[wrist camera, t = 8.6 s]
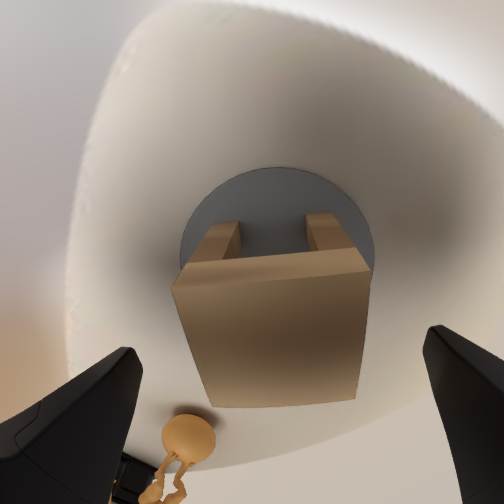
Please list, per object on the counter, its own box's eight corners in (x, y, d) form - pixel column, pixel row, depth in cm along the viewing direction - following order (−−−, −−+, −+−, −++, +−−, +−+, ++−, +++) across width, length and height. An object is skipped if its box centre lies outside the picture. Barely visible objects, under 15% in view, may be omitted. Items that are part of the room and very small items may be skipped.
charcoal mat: (286, 364, 15) (286, 369, 15) (151, 276, 14) (148, 280, 13) (405, 254, 12) (409, 257, 12) (260, 124, 11) (260, 124, 10)
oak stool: (332, 311, 13) (354, 398, 8) (232, 319, 14) (212, 407, 9) (330, 211, 11) (370, 270, 6) (213, 223, 12) (170, 288, 7)
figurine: (249, 434, 19) (233, 568, 8) (202, 449, 21) (178, 559, 10) (165, 381, 17) (107, 537, 6) (126, 403, 19) (75, 522, 8)
